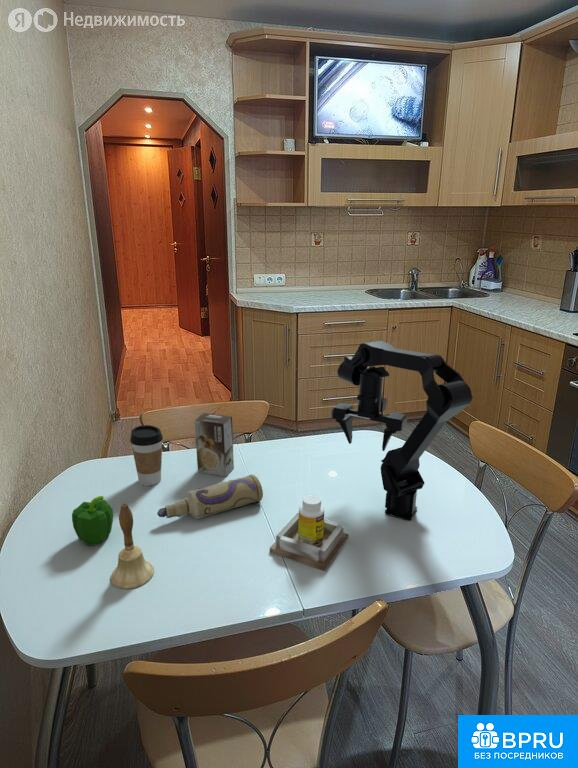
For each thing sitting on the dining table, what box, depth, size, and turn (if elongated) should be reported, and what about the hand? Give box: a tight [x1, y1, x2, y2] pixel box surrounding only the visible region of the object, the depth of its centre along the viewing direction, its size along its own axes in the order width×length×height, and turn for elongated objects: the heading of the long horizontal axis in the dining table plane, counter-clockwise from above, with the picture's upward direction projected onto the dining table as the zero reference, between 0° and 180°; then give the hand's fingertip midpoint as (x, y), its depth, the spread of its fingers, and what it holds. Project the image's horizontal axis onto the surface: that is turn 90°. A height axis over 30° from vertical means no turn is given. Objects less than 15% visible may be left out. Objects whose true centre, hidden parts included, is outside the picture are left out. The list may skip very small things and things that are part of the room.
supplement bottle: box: [298, 494, 325, 546], centre depth 108 cm, size 6×6×10 cm
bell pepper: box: [71, 495, 114, 546], centre depth 109 cm, size 8×8×10 cm
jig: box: [269, 512, 349, 572], centre depth 109 cm, size 13×13×4 cm
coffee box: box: [194, 412, 235, 477], centre depth 140 cm, size 9×6×16 cm
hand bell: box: [110, 502, 155, 590], centre depth 97 cm, size 8×8×16 cm
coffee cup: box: [130, 424, 164, 487], centre depth 134 cm, size 8×8×15 cm
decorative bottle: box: [156, 474, 264, 519], centre depth 121 cm, size 26×8×7 cm, turn 118°
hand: (366, 446), depth 130 cm, fingers open, 9 cm apart
